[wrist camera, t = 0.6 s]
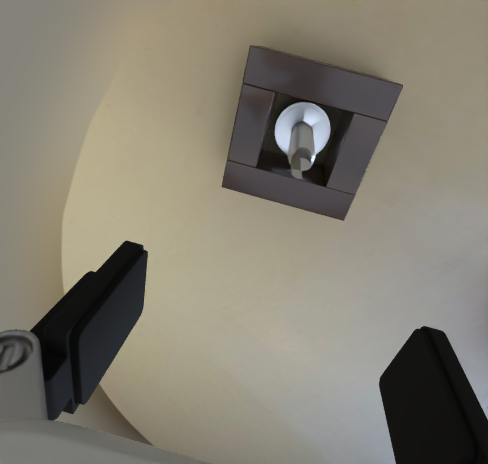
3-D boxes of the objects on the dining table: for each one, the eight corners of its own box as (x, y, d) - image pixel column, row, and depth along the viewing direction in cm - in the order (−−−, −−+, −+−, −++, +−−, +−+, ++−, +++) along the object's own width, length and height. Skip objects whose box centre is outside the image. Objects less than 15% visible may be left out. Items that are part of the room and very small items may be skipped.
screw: (279, 154, 32) (274, 102, 30) (329, 149, 31) (328, 95, 29) (265, 210, 21) (255, 134, 19) (343, 205, 20) (343, 124, 18)
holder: (260, 46, 28) (250, 45, 23) (385, 78, 27) (403, 85, 22) (234, 165, 33) (221, 187, 28) (337, 194, 33) (343, 220, 28)
